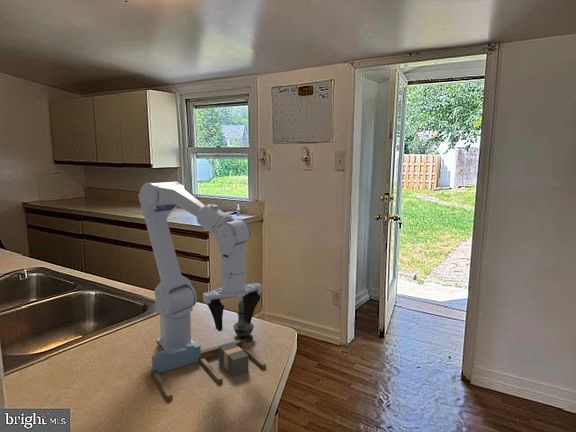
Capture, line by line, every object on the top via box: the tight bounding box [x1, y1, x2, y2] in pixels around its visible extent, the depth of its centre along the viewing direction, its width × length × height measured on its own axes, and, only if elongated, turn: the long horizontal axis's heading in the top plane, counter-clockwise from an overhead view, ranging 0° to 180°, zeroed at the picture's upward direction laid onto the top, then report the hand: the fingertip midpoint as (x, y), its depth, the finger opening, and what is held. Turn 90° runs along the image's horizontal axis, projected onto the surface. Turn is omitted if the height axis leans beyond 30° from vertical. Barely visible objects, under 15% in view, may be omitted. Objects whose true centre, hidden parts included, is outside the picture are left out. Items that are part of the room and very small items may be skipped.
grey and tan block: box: [218, 341, 250, 377], centre depth 95 cm, size 8×4×4 cm, turn 35°
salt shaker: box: [232, 299, 255, 343], centre depth 110 cm, size 6×6×12 cm
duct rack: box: [151, 340, 267, 402], centre depth 93 cm, size 13×24×5 cm, turn 125°
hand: (233, 325), depth 94 cm, fingers open, 7 cm apart
